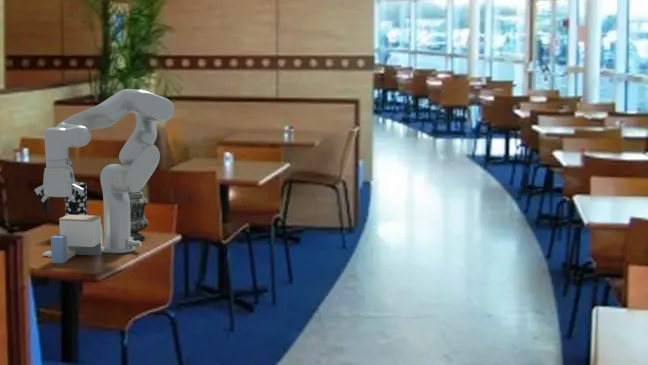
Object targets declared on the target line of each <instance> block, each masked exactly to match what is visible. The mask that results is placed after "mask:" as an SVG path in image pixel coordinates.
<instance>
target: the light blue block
mask: <svg viewBox="0 0 648 365" xmlns="http://www.w3.org/2000/svg"><path fill="white" fill-rule="evenodd" d="M50 251H51V257H50V259H51V263H52V264H64V263H67V262H68V260H69V259H71V258H73V257H75V256H76V255H77V254H76V252H75V251H74V250H68V246H67V235H60V234H55V235H53V236H51V237H50Z"/></svg>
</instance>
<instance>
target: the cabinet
mask: <svg viewBox="0 0 648 365" xmlns="http://www.w3.org/2000/svg"><path fill="white" fill-rule="evenodd" d="M58 221H59V235H67V251H68V250H74V251H75V252H76V255H83V256H85V255H86V256H101V255H102V252H101V246H102V229H101V228H102V215H88V214H87V215H66V216H65V215H64V216H62V217H60V218H59V219H58Z"/></svg>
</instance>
